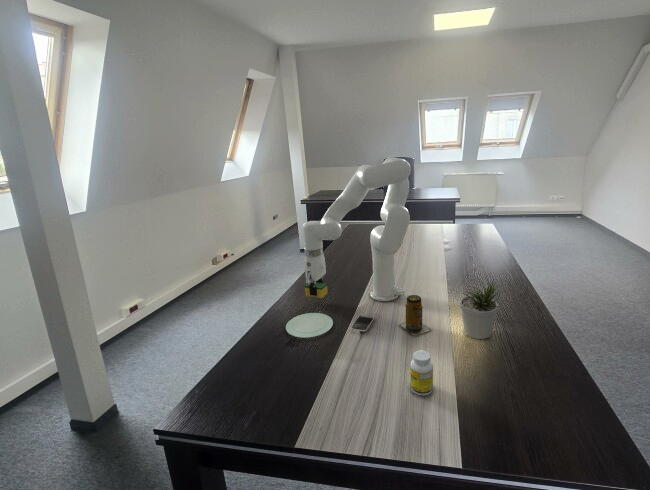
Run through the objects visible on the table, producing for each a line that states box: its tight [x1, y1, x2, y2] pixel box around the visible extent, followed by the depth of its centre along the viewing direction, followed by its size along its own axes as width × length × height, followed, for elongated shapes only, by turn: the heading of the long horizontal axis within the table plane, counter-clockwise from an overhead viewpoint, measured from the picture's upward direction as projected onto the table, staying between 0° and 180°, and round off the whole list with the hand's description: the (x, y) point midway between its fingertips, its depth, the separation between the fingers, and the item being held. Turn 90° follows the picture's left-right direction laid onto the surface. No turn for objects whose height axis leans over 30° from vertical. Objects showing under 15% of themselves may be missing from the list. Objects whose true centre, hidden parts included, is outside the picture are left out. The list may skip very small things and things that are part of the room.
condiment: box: [400, 294, 431, 337], centre depth 131 cm, size 7×8×12 cm
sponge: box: [304, 281, 329, 299], centre depth 152 cm, size 8×5×4 cm, turn 68°
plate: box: [285, 312, 334, 338], centre depth 137 cm, size 18×18×1 cm
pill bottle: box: [409, 349, 434, 396], centre depth 100 cm, size 6×6×11 cm
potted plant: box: [459, 281, 501, 340], centre depth 124 cm, size 13×14×20 cm
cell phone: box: [350, 315, 375, 334], centre depth 136 cm, size 6×11×1 cm, turn 158°
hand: (316, 292), depth 152 cm, fingers closed on sponge, 5 cm apart
